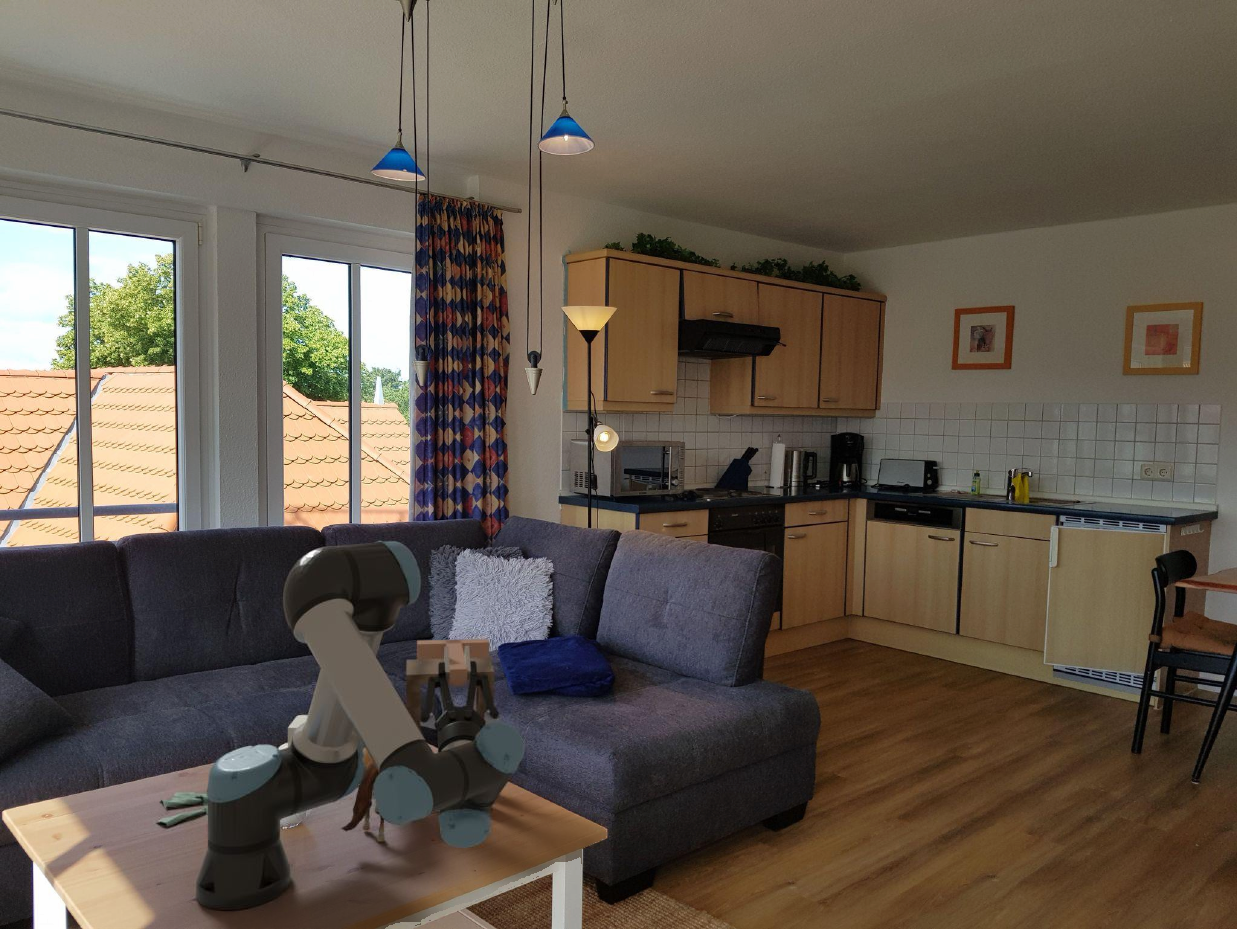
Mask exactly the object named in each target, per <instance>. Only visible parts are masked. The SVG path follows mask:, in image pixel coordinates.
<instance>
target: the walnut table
mask: <svg viewBox="0 0 1237 929" xmlns="http://www.w3.org/2000/svg"><path fill="white" fill-rule="evenodd" d="M470 661H475V662H476V665H477V674H478V675H481V676H482V675H483V674H486V675H487V676H488V680H489V685H490V690H491V694H492V699H493V704H494V705H495V670H494V669H495V668H494V666H493V663H492V660H491V657H490V656H489V657H480V658H470ZM440 662H444V659H418V660H417V658H416V659H406V673H405V674H406V677H405V678H406V679H405V680H406V684H405V707H406V708H407V710H408V712H409V713H410V715H411V717H412V718H413V720H414V722H415V723H416V725H417V727H418V728H419V730H420V731H421V730H422V729H421V728H420V721H421V715H422V685H426V684H427V685H428V679H429V677H437V676H438V664H439V663H440ZM474 710H475V711H476V712H477V713H478V714H479V715H480V716H481V717H483V718H484V717H485V708H484V703H483V698H482V693H481V688H480V686H477V687H476V693H475V701H474ZM492 811H493V806H492V807H491V809H490V813H492Z"/></svg>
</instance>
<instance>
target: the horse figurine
mask: <svg viewBox="0 0 1237 929" xmlns="http://www.w3.org/2000/svg"><path fill="white" fill-rule="evenodd" d="M363 754H364V757H363V758H362V761H363V762H364V772H363V776H362V780H361V782H360V783H359V785H358V787H357V793H356V795H355V801H354V805H353V808H352V816H351V820H350V821H349V822H348V823H347V824H346V825H344V826H343V827H341V829H340V830H342V831H345V832H348V831H352V830H354V829H355V828H356V827H357V826H359V823H360V822H361V821H362V820H363V819H364V822H363V824H362V830H364V831H369V830H370V829H371V826H370V824H371V823H370V821H369V820H370V818H371V814H370V812H371V807H373V801H372V800H373V792H374V783H375V780H376V778H377V777H378V775H379V774H380V772H379V770H378V769H377V767H376V765H375V763H374V762H373V760H372V758H371V756H370V755H369V753H368V751H367V749H366V748H364V749H363ZM374 803H375V806H374V809H373V811H374V812H375V813H379V812H378V810H377V807H376V804H377V802H376V800H375V802H374ZM379 817H380V819H379V820H380V821H379V822H380V823H379V828H378V835H377V837H376V841H377V842H381V843H383V842H384V841H385V839H386V837H385V828H384V827H385V819H383V818H382V816H381V815H380V814H379Z"/></svg>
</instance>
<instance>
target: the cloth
mask: <svg viewBox="0 0 1237 929" xmlns="http://www.w3.org/2000/svg"><path fill="white" fill-rule="evenodd" d="M159 803H162V804H163V807H164V809H165V810H168V809H176V808H178V809H179V808H185V807H189V806H200V805H203V808H204V809H197V810H191V811H187V812H181V813H178V814H175V815H172V816H167V817H162V818H160V819H159V820H158V821H157V822H156V824H158V823H159V824H160V823H162V825H163V826H166V828H170V827H171V826H172V827H173V825H175V824H178V823H181V822H184V821H188V820H191V819H194V818H197V817H201V816H204V815H206V823H208V797H207V793H197V792H183V791H182V792H175V793H174V795H173V797H172V798H171V799H170V800H168V799H161V800H160V801H159Z"/></svg>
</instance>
